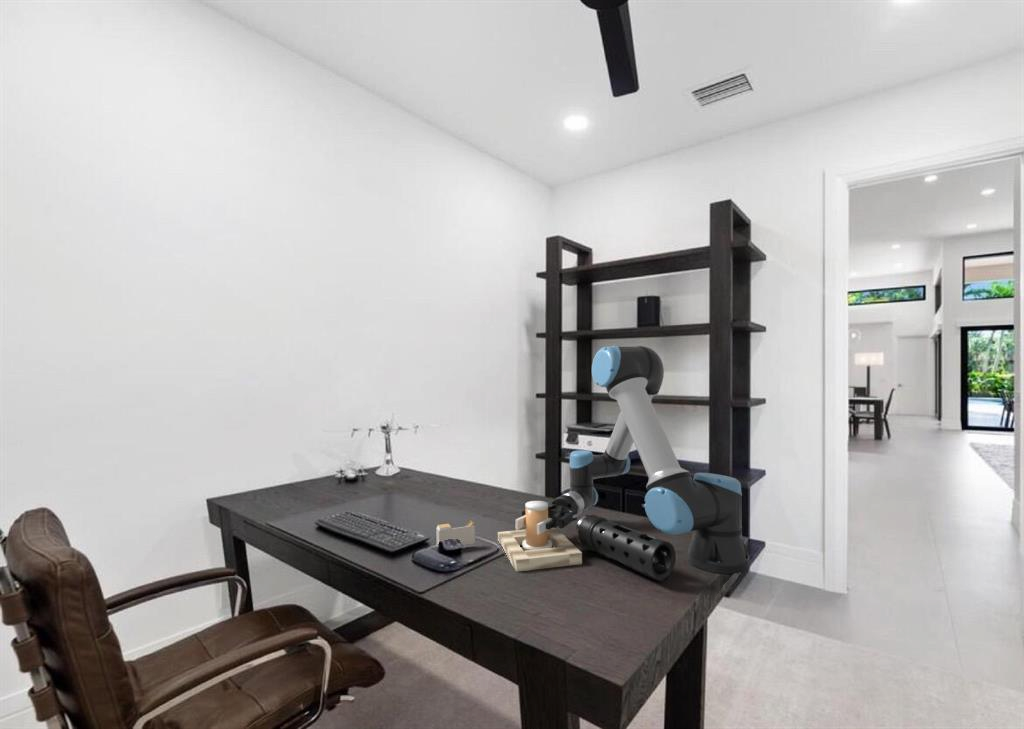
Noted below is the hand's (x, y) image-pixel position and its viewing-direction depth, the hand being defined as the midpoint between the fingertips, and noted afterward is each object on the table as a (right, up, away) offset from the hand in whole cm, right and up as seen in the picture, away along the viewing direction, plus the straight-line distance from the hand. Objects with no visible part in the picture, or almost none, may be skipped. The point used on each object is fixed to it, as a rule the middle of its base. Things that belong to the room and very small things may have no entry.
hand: (527, 527), depth 136 cm
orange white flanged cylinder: (+3, -7, +4) cm, 9 cm away
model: (-21, -10, +8) cm, 24 cm away
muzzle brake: (+25, -9, -5) cm, 27 cm away
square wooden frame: (+3, -9, +4) cm, 10 cm away
